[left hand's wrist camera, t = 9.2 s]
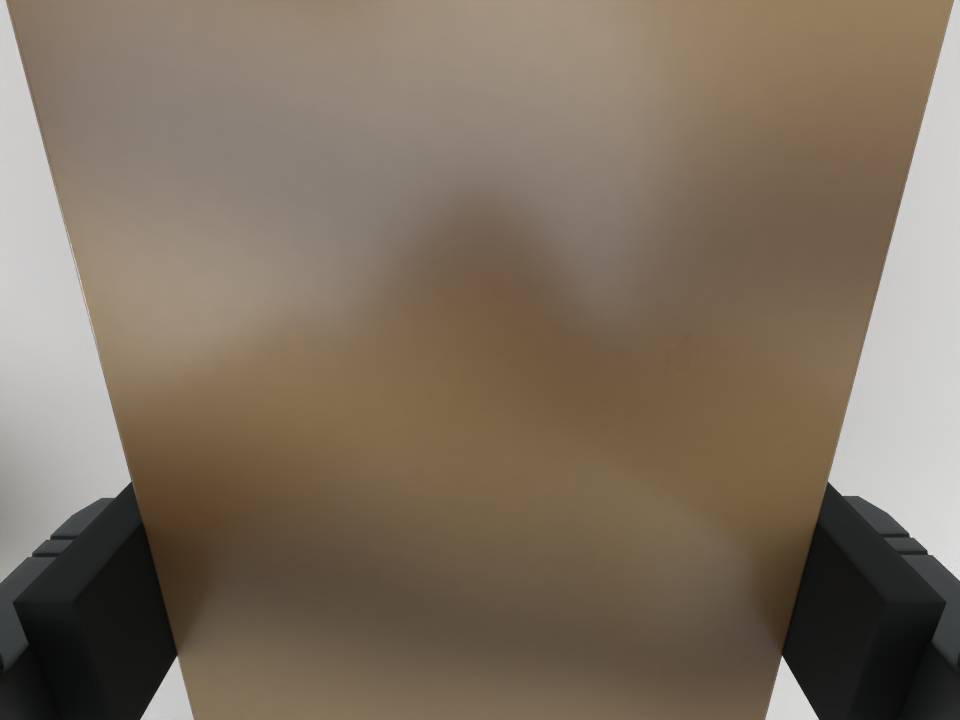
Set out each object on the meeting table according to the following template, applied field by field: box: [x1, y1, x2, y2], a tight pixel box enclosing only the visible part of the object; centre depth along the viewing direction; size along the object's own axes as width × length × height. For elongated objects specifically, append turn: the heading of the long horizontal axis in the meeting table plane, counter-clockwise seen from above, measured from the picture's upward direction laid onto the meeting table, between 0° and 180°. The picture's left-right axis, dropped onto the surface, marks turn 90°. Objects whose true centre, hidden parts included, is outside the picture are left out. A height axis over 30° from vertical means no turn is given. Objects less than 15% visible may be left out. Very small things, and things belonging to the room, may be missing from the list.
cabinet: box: [6, 0, 954, 720], centre depth 11 cm, size 19×10×9 cm, turn 0°
